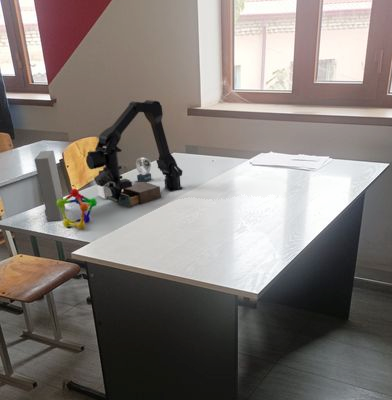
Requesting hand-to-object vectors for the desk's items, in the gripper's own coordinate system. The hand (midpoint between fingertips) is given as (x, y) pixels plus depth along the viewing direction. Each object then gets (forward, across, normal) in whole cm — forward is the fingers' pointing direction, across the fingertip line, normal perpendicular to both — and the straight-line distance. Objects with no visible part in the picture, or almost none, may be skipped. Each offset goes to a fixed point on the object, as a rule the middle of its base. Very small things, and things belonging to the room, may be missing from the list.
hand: (117, 200), depth 221 cm
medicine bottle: (+2, -15, +5) cm, 16 cm away
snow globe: (+2, -22, +31) cm, 39 cm away
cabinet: (+2, 0, +13) cm, 14 cm away
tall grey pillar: (+2, -10, -25) cm, 27 cm away
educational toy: (+2, +9, -24) cm, 25 cm away
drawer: (+2, 0, +5) cm, 6 cm away
